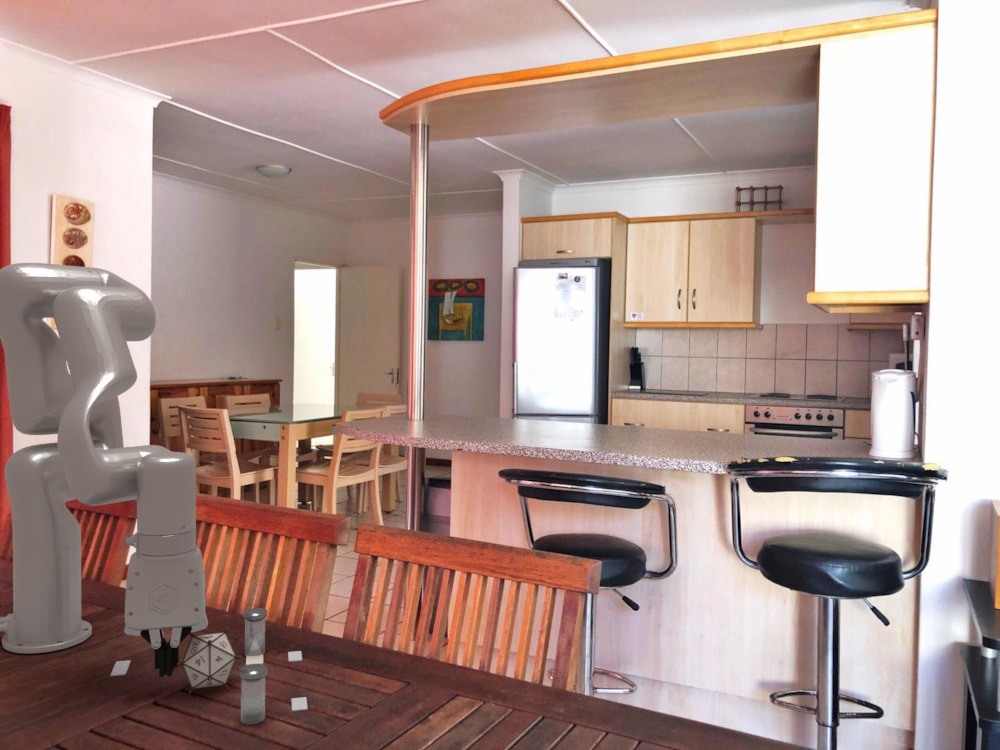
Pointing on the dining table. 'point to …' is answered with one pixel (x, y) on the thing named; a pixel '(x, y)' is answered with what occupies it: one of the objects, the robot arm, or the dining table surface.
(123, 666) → the distance lines
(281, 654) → the dining table surface
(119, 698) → the dining table surface
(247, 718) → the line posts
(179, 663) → the game die
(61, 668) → the dining table surface
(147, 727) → the dining table surface
